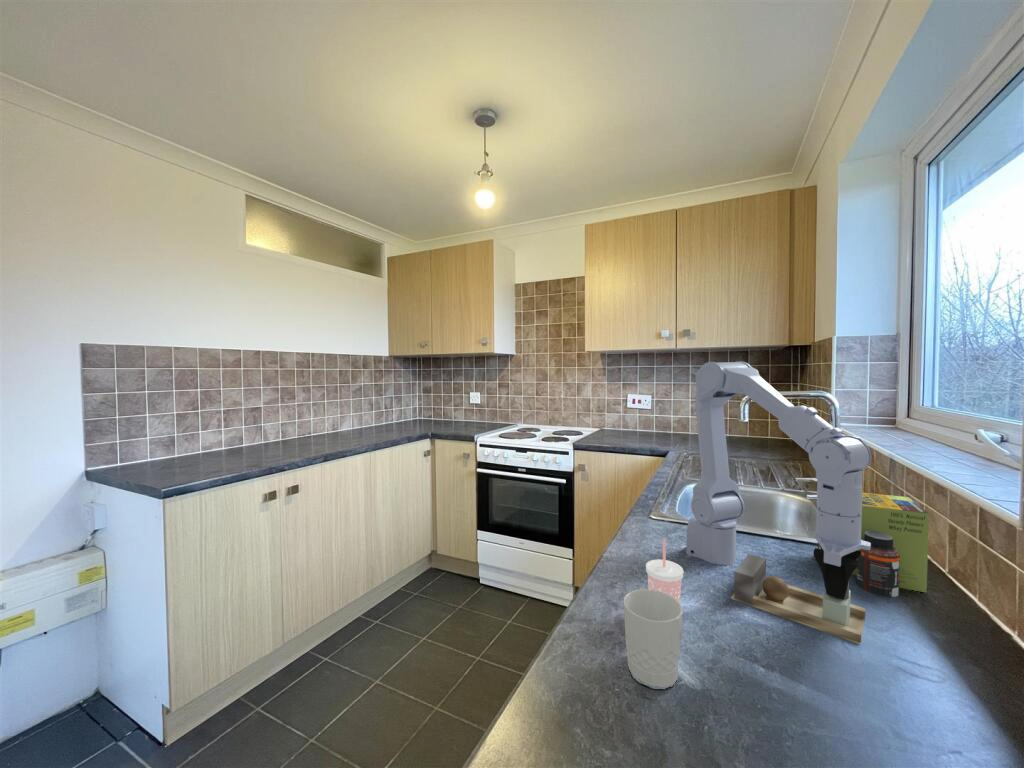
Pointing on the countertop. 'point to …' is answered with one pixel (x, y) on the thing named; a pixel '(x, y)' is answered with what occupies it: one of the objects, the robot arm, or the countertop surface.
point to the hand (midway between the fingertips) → (836, 591)
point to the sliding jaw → (837, 608)
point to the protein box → (900, 534)
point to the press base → (792, 602)
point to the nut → (775, 589)
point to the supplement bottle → (879, 566)
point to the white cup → (653, 636)
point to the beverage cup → (665, 576)
